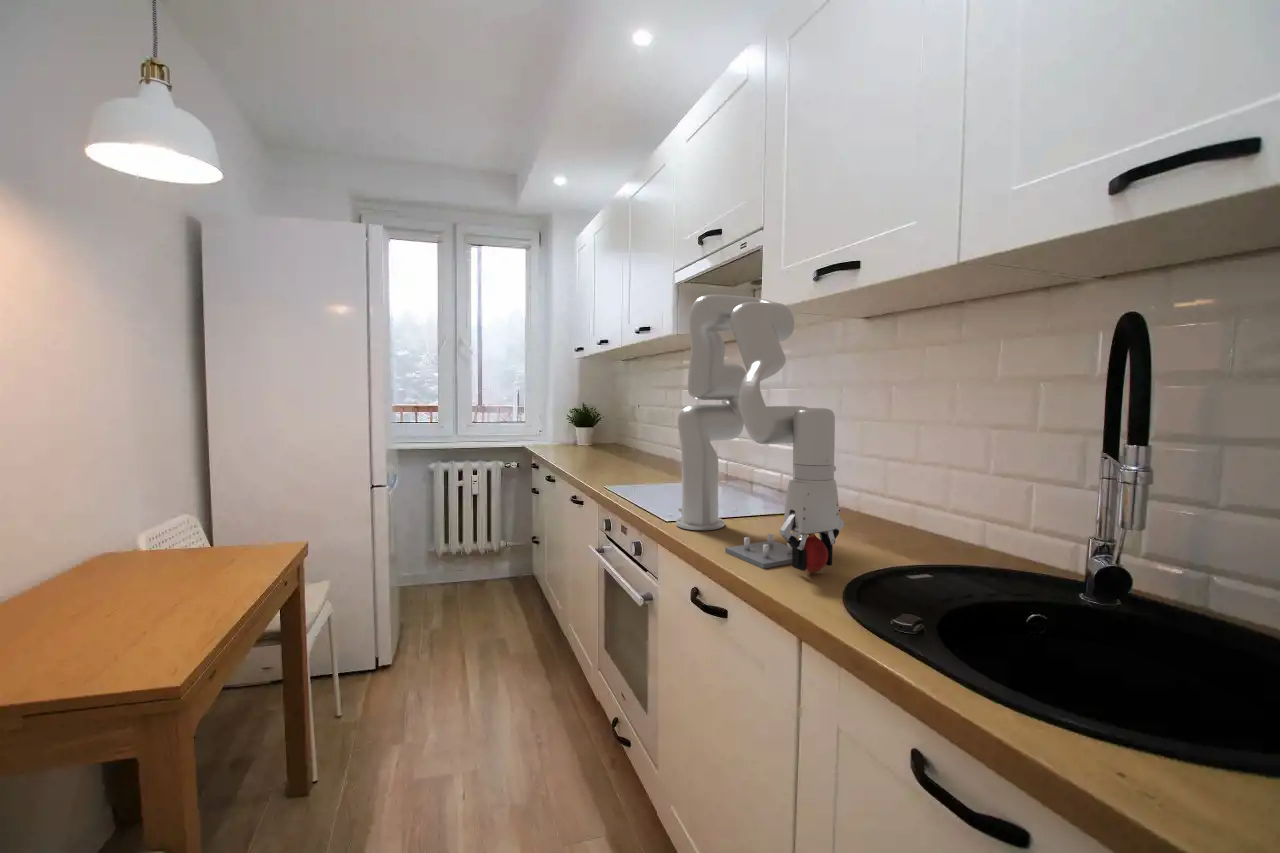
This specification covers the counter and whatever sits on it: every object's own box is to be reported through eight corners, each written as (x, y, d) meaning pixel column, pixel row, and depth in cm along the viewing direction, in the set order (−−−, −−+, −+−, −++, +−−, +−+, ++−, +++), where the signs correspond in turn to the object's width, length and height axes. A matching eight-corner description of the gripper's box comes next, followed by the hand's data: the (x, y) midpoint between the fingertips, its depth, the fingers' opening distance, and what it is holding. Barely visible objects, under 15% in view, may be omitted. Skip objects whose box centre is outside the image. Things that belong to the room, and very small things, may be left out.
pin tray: (725, 552, 123) (725, 536, 122) (772, 544, 128) (772, 529, 128) (763, 568, 111) (763, 551, 111) (813, 559, 117) (813, 543, 117)
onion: (813, 567, 112) (813, 527, 111) (834, 575, 107) (835, 534, 106) (790, 571, 109) (790, 530, 109) (811, 580, 104) (811, 537, 104)
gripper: (832, 467, 114) (831, 555, 115) (764, 473, 106) (763, 567, 108) (861, 472, 107) (860, 565, 108) (791, 479, 100) (790, 579, 101)
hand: (812, 565), depth 108 cm, fingers closed on onion, 5 cm apart
